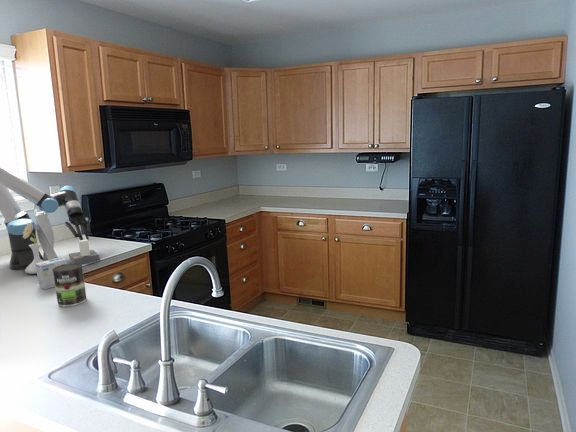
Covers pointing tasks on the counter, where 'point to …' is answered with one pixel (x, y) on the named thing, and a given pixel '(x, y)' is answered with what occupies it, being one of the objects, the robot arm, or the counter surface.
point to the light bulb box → (48, 272)
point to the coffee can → (69, 284)
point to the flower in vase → (35, 248)
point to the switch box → (79, 259)
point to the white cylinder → (84, 248)
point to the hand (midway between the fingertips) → (86, 246)
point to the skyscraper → (45, 235)
